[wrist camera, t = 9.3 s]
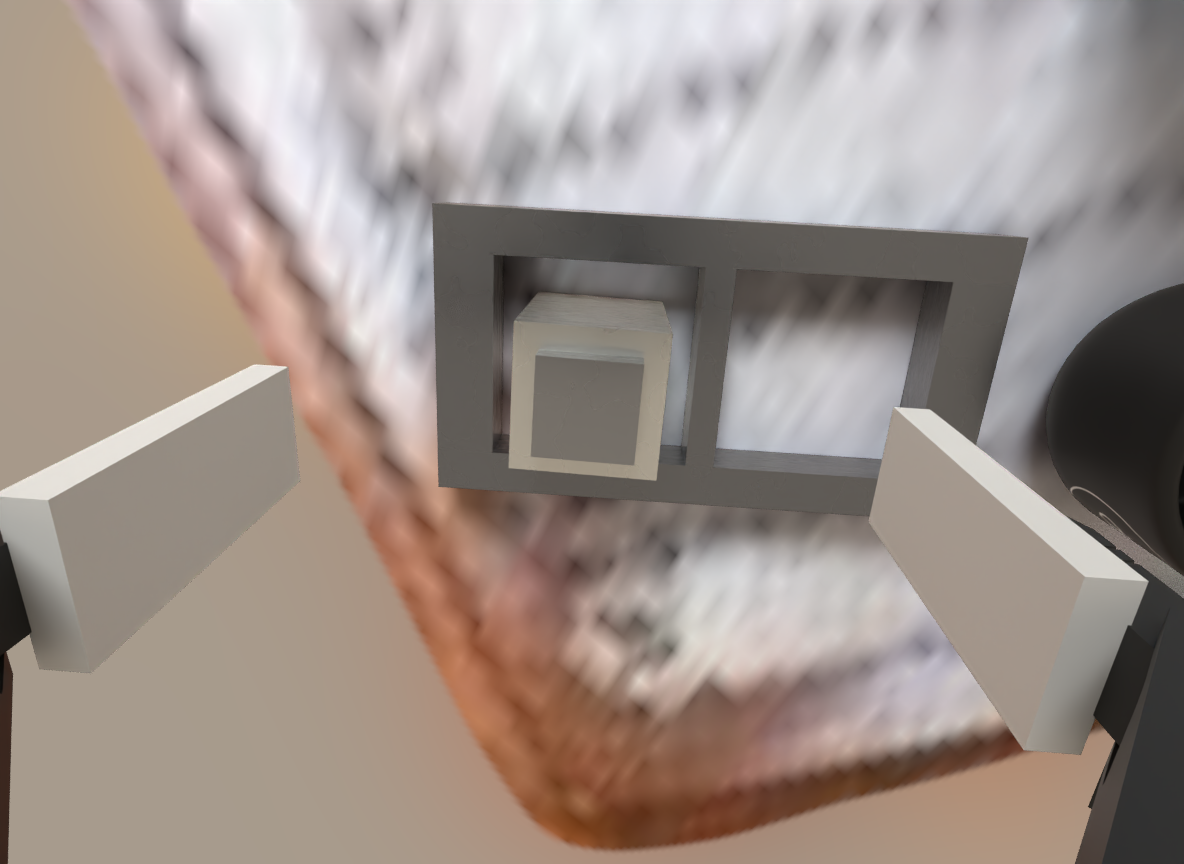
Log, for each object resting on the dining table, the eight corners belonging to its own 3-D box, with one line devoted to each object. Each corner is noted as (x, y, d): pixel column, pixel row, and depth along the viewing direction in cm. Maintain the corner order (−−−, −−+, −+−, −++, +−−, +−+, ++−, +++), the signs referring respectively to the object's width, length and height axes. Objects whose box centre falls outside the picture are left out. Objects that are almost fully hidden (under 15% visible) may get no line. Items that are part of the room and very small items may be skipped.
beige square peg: (539, 291, 25) (509, 326, 19) (662, 301, 25) (674, 339, 19) (533, 408, 27) (504, 478, 20) (649, 418, 27) (657, 491, 20)
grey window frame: (447, 202, 24) (432, 203, 22) (996, 234, 24) (1028, 238, 22) (451, 466, 27) (438, 486, 26) (933, 498, 27) (956, 522, 25)
